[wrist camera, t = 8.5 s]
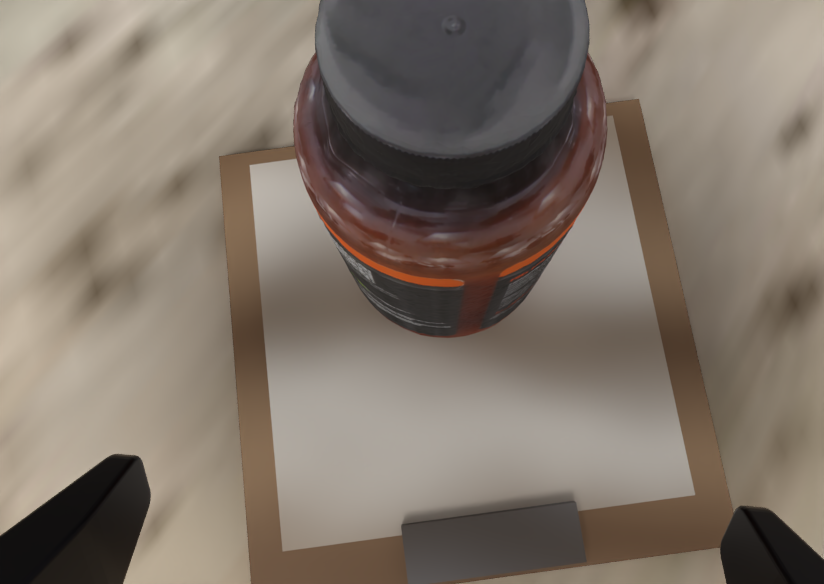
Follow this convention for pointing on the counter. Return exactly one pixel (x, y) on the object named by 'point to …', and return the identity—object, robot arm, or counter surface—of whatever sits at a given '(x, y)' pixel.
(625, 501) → the clipboard
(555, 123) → the supplement bottle
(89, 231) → the counter surface
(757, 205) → the counter surface
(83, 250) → the counter surface
